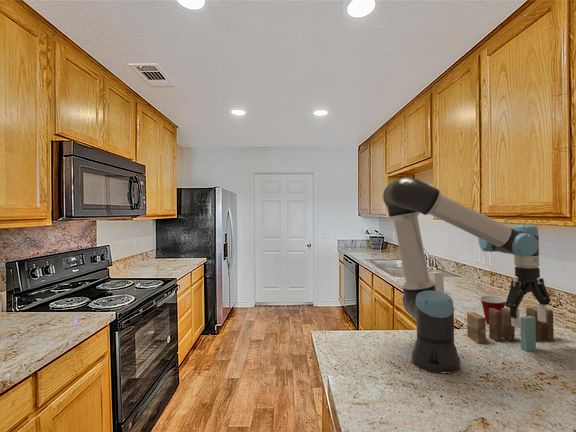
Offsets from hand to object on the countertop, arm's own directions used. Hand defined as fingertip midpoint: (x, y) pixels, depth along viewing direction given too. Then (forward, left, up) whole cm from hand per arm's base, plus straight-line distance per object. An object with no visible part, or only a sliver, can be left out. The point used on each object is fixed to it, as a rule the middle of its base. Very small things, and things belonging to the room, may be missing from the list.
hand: (529, 324), depth 125 cm
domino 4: (0, 0, -9) cm, 9 cm away
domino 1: (-3, +12, -9) cm, 15 cm away
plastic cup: (+14, +26, -10) cm, 31 cm away
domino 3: (+11, +6, -9) cm, 16 cm away
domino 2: (+2, +10, -9) cm, 14 cm away
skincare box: (+29, +78, -10) cm, 84 cm away
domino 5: (+16, +5, -9) cm, 19 cm away
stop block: (-10, +14, -9) cm, 20 cm away
